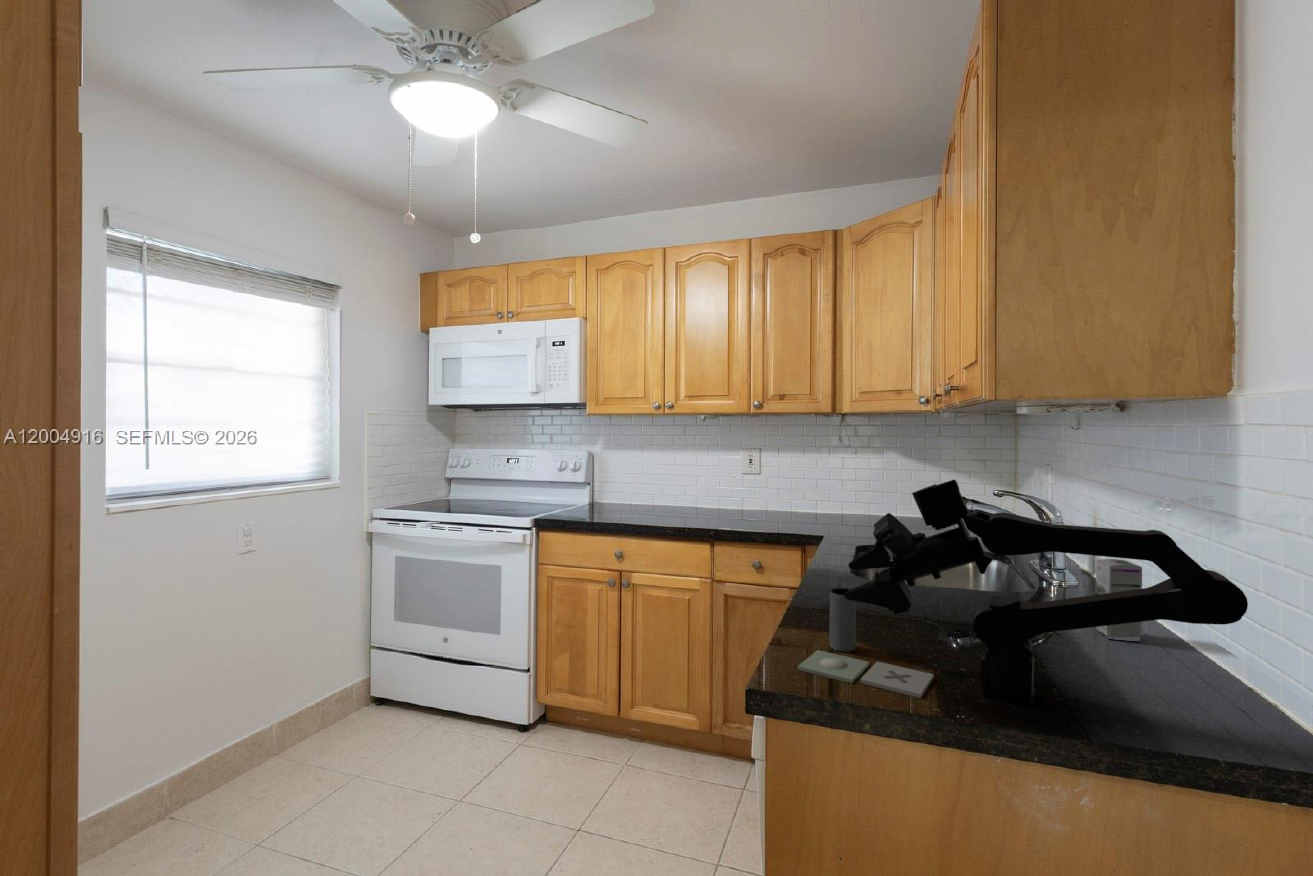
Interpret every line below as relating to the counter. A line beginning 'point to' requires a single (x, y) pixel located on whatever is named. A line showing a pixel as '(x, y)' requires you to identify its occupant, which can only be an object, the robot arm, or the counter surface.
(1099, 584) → the syrup box
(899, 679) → the pad
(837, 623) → the grey cylinder
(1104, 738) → the counter surface
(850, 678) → the pad
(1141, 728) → the counter surface
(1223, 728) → the counter surface
